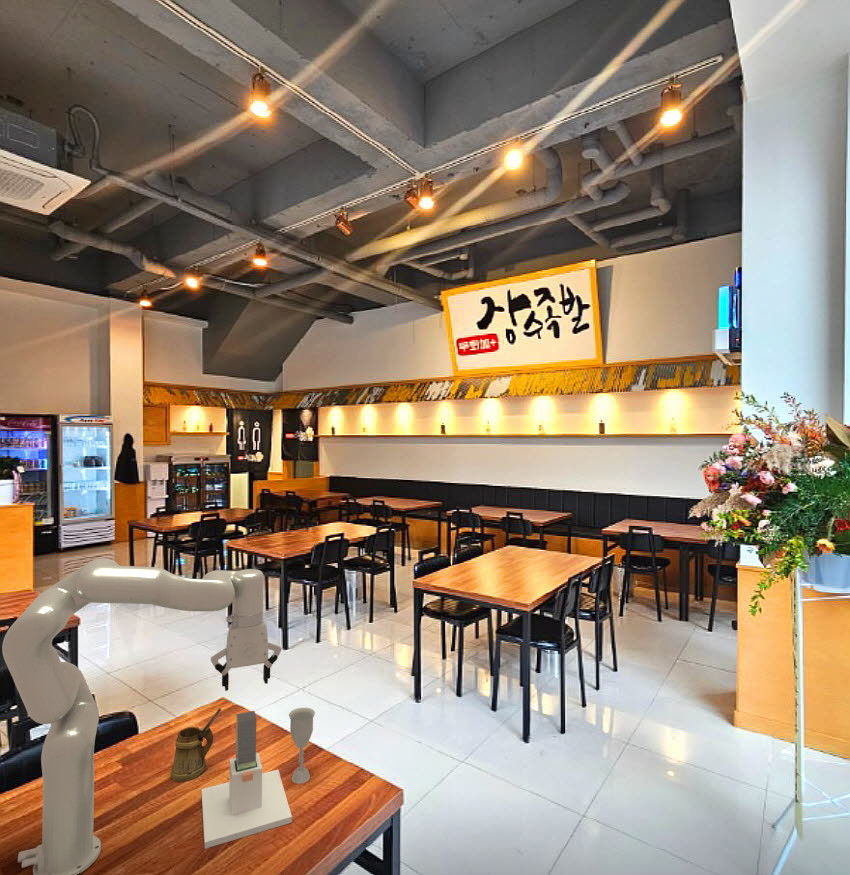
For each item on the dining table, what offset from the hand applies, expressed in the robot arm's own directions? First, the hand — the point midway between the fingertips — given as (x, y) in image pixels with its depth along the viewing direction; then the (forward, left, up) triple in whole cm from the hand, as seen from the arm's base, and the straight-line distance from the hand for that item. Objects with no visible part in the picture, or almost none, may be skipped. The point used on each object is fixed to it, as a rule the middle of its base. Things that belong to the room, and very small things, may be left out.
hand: (246, 684), depth 133 cm
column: (0, 0, -24) cm, 24 cm away
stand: (0, 0, -32) cm, 32 cm away
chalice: (+16, +6, -32) cm, 36 cm away
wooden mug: (-11, +21, -32) cm, 40 cm away
